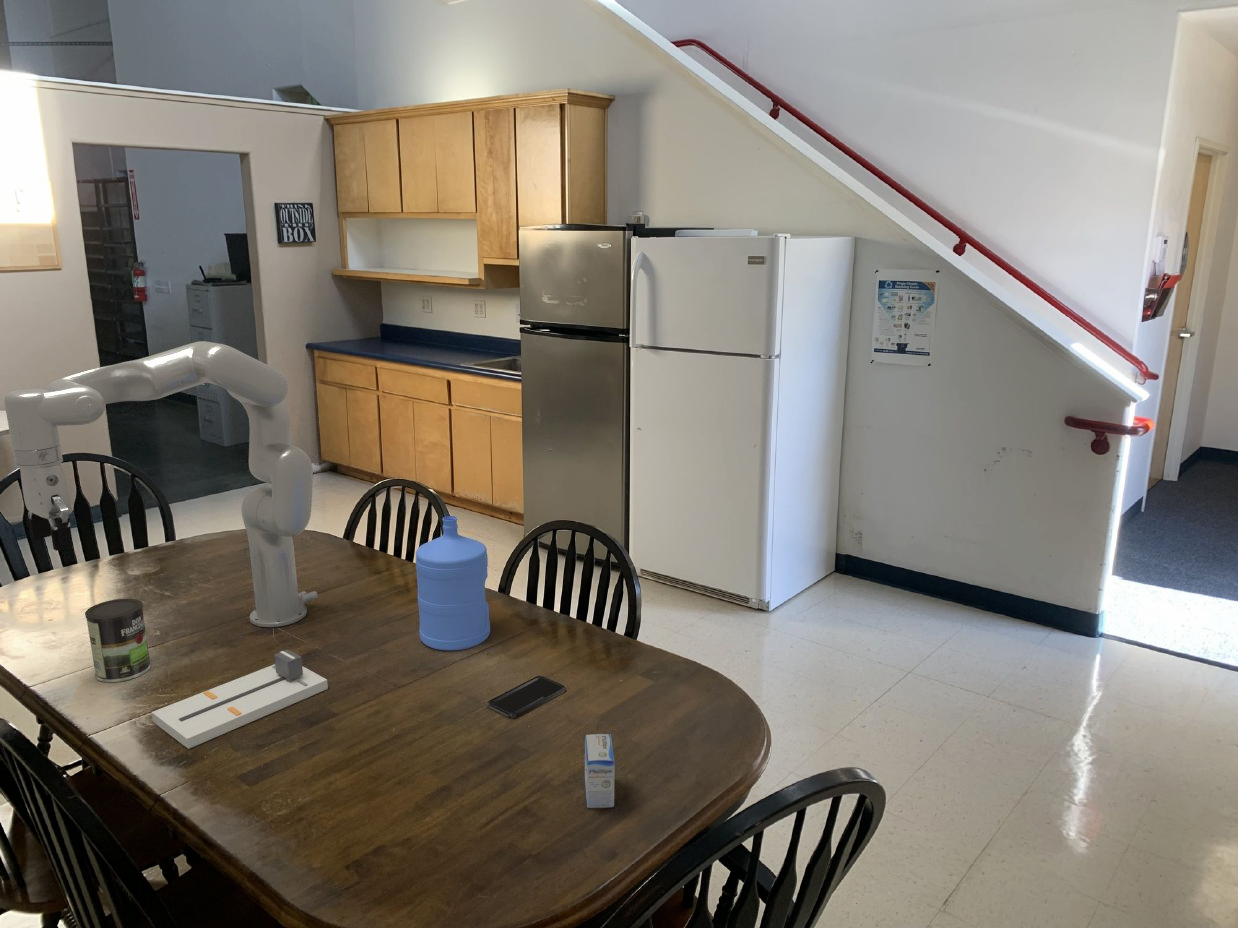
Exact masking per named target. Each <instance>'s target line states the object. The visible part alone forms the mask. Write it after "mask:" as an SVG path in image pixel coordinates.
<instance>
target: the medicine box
mask: <svg viewBox="0 0 1238 928" xmlns="http://www.w3.org/2000/svg"><path fill="white" fill-rule="evenodd" d="M613 750H614V748H613V740H612V734H611V733H610V734H609V733H607V734H605V733H596V734H586V735H585V737H584V786H585V787H584V788H585V796H586V797H585V798H586V807H587V809H605V808H607V809H608V808H614V807H615V779H616V778H615V776H616V775H615V769H616V768H615V758H614V751H613Z"/></svg>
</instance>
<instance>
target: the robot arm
mask: <svg viewBox="0 0 1238 928" xmlns="http://www.w3.org/2000/svg"><path fill="white" fill-rule="evenodd" d="M202 384H212V385H216V386H218V387H221V388H223V389H225V390H226V391H227V392H228V394H229V396H231V397H232V398H234V399H235V400H237V401H238V402H240V404H241V405H242V406H243V408H244V410H245V411H246V414H247V417H248V423H249V425H248V426H249V442H248V443H249V444H248V445H249V446H248V447H249V448H248V468H249V472H250V474H251V475H252V476H253V477H254V478H255V479H257V480H259V481H261V482H264V483H266V484H267V483H268V484H270V485H271V486H258V487H257V486H256V487H255V488H253V489H251V490H249V491H248V492H247V493H246V494H245V496H244V498H243V499H242V501H241V502H242V503H241V517H242V521H243V525H244V527H245V531H246V535H247V539H248V546H249V554H250V566H251V573H252V574H251V577H252V583H253V592H254V601H255V609H253V611H251V613H250V614H249V622H250V623H251V624H253V625H254V626H257V627H261V628H277V627H279V628H280V627H284V626H288V625H291V624H294V623H296V622H299V621H301V620H302V619H303V618H304V617H306V615H307V613H308V611H307V610H308V609H307V607H306V606H305V605H306V604H307V602H310V601H314V600H316V599H318V592H317V591H315V590H313V591H311V592H306V591H305V590H303V591H301V592H298V591H299V590H298V578H297V570H296V568H297V567H296V558H295V547H294V546H295V545H294V539H293V537H296V536H298V535H300V534H302V532H304V531H305V529H306V528H307V527H308V524H309V522H310V520H311V516H312V502H313V483H314V480H313V479H314V477H313V473H314V472H313V471H314V470H313V465H312V461H311V459H310V457H309V455H308V454H307V452H306V451H304V450H303V449H301V448H300V447H298V446H295V445H291V429H290V427H291V425H290V422H291V421H290V414H289V413H290V412H289V409H288V407H287V404H286V402H285V399H286V398H287V396H288V393H289V384H288V380H287V378H286V377H285V376H284V374H283V373H282V372H281V371H279V370H278V369H276V368H274V367H273V366H271V365H268V364H266V363H265V362H262V361H260V360H259V359H256V358H255V357H253V356H250V355H248V354H246V353H244V352H242V351H240V350H239V349H237V348H235V347H233V346H230V345H226V344H225V343H217V342H211V341H203V340H202V341H195V342H192V343H188V344H184V345H182V346H181V345H180V346H178V347H175V348H172V349H168V350H166V351H162V352H159V353H156V354H152V355H149V356H146V357H142V358H138V359H134V360H129V361H123V362H119V363H115V364H112V365H111V364H110V365H105V366H101V367H96V368H92V369H88V370H84V371H81V372H78V373H74V374H71V375H68V376H67V375H66V376H64V377H62V378H59V379H56V380H53V381H51V382H50V383H49V384H47V385H46V386H45V387H44V388H25V389H24V388H23V389H18V390H17V389H16V390H13V391H10V392H8V393H7V394H6V395H5V396H4V398H3V399H4V408H5V413H6V419H7V420H6V421H7V425H8V431H9V436H10V443H11V448H12V454H13V458H14V466H15V467H16V468H18V469H19V471H20V480H21V488H22V494H23V500H24V504H25V507H26V509H27V510H28V512H27V513H28V514H27V515H28V519H29V526H30V531H31V536H32V539H33V540H34V541H35V540H40V539H44V538H47V537H48V538H49V537H51V541H52V542H51V543H52V549H53V550H54V551H60V550H66V549H69V548H72V547H73V546H74V543H73V537H72V531H71V529H72V528H71V522H70V521H71V518H70V515H71V514H72V513H73V505H72V501H71V499H72V498H71V496H70V491H69V488H68V487H69V486H68V482H67V479H66V475H65V471H64V468H63V465H62V463H63V462H64V460H63V459H64V458H63V454H62V453H63V452H62V447H61V442H60V433H59V426H60V427H61V426H63V427H64V426H85V425H91V424H92V423H95V422H96V421H98V420H99V419H101V418H102V417H103V415H104V413H105V410H106V405H108V404H114V403H119V402H143V401H144V402H145V401H146V402H147V401H153V400H159V399H162V398H165V397H167V396H169V395H170V396H171V395H173V394H176V393H179V392H182V391H186V390H187V389H191V388H194V387H196V386H199V385H202ZM55 519H56V520H55Z"/></svg>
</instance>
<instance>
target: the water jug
mask: <svg viewBox="0 0 1238 928" xmlns="http://www.w3.org/2000/svg"><path fill="white" fill-rule="evenodd" d="M457 520H458V517H457V516H454V515H448V516H444V517H442V522H443V525H442V530H443V534H442V535H441V536H439V537H436V538H434V539H432V540H429V541H427V542H426V543H423V544H421V545H420V546H418V548H417V549H416V550H415V551H416V552H415V570H416V578H417V579H416V581H417V604H418V615H419V630H418V631H419V639H420V640H421V642H422V643H423V644H424V645H425V646H427V647H428V648H432V649H434V650H438V651H439V650H440V651H460V650H461V651H462V650H466V649H471V648H473V647H476V646H478V645H480V644H482V643H483V642H485V640H487V639H488V637H490V633H491V622H490V609H489V608H490V606H489V603H488V602H487V600H486V581H487V578H488V566H489V565H488V563H489V562H488V561H489V559H488V557H489V556H488V552H487V547H486V545H485V544H484V543H483V542H481V541H480V540H477V539H473V538H471V537H467V536H464V535H460V534H459V533H458V528H459V527H458V521H457Z"/></svg>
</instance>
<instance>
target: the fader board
mask: <svg viewBox="0 0 1238 928" xmlns="http://www.w3.org/2000/svg"><path fill="white" fill-rule="evenodd" d="M302 668H303V675H302V676H300V677H297V678H295V679H292V680H290V681H289V680H287V679H286V678H284V677H282V676H281V675H279V674H277V673H276V668H275V663H274V664H272V665H270V666H267V667H264V668H262V669H259V670H257V671H253V672H251V673H249V674H246V675H243V676H241V677H239V678H236V679H234V680H230V681H228V682H226V683H223V684H219V685H218V686H215V687H213V688H210V689H207V690H205V691H202V692H200V693H197V694H195V695H193V696H190V697H187V698H184V699H182V700H179V701H177V702H174V703H171V704H169V705H167V706H164V707H162V708H159V709H156V710H153V711H151V717H152V718H151V719H152V723H154V724H155V725H156V726H157V727H159V728H161V730H163V731H164V732H166V733H167V734H168V735H170V737H172V738H174V739H175V740H176V741H178V742H179V743H180V744H181V745H182V746H184V747H185V748H187V749H188V750H189V749H191V748H194V747H196V746H199V745H201V744H203V743H205V742H208V741H210V740H213V739H215V738H217V737H220V736H222V735H224V734H226V733H229V732H231V731H233V730H235V729H238V728H240V727H242V726H245V725H247V724H249V723H252V722H254V721H256V720H259V719H261V718H264V717H265V716H268V715H270V714H273V713H275V712H277V711H280V710H282V709H284V708H287V707H289V706H292V705H293V704H295V703H296V704H297V703H298V702H301V701H304V700H305V699H308V698H310V697H312V696H315V695H317V694H319V693H322V692H324V691H326V690H328V689H329V688H328V687H329V684H328V679H327V678H325V677H323V676H321V675H319V674H318V673H316V672H314V671H312V670H311V669H308V668H307V667H305V666H303V665H302Z"/></svg>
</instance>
